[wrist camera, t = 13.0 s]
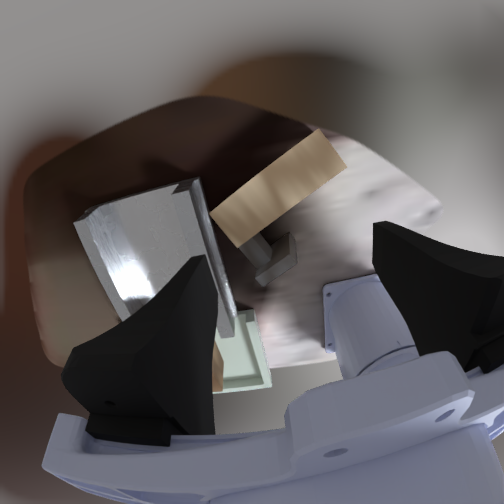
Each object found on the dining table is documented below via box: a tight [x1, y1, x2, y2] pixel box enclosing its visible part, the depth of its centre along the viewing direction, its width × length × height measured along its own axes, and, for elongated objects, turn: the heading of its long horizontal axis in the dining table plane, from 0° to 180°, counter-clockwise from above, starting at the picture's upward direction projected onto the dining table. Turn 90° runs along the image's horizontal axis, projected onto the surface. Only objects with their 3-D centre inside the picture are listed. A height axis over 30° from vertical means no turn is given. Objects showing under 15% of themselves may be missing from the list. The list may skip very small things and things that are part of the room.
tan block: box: [209, 129, 347, 287], centre depth 19 cm, size 6×5×9 cm
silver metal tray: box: [74, 177, 238, 339], centre depth 22 cm, size 13×10×3 cm
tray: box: [213, 309, 272, 394], centre depth 29 cm, size 11×13×2 cm
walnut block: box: [212, 341, 224, 392], centre depth 27 cm, size 4×4×4 cm
